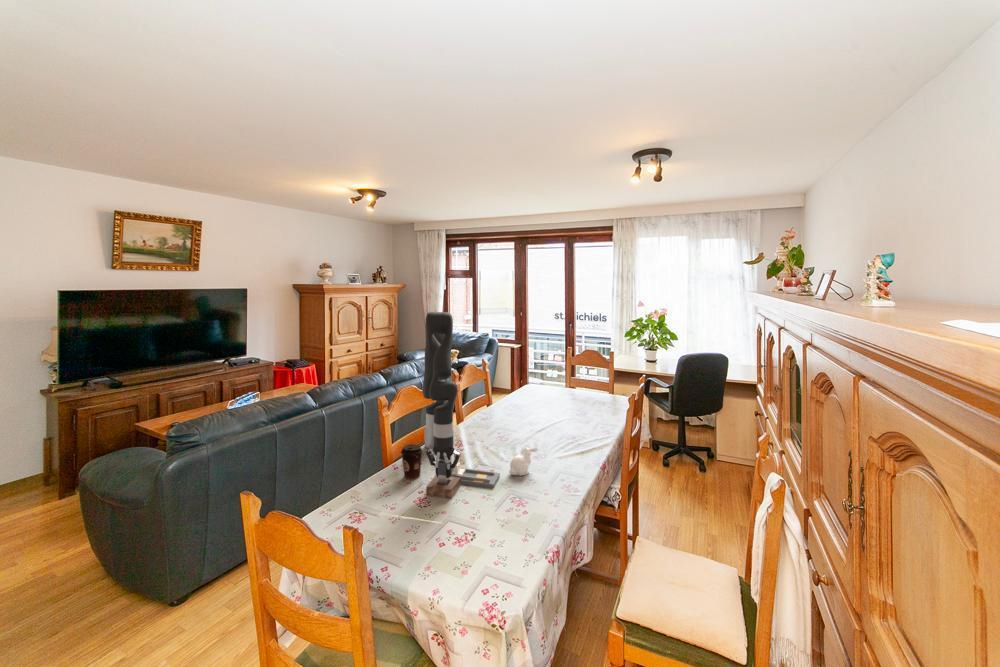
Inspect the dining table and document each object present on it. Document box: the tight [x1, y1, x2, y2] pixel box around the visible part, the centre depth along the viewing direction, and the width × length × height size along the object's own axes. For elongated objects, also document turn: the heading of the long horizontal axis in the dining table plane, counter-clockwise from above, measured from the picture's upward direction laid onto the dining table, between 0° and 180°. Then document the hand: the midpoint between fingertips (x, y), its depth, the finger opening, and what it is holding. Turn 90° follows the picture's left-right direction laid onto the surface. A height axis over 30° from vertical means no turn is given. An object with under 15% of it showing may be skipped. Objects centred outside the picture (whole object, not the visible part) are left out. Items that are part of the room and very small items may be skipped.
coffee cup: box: [400, 443, 424, 481], centre depth 176 cm, size 9×8×13 cm
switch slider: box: [452, 462, 466, 475], centre depth 176 cm, size 4×5×4 cm
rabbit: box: [508, 446, 538, 477], centre depth 181 cm, size 12×9×12 cm
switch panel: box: [451, 467, 501, 489], centre depth 175 cm, size 22×10×3 cm, turn 76°
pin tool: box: [438, 460, 449, 485], centre depth 165 cm, size 3×3×12 cm
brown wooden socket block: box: [425, 474, 461, 500], centre depth 165 cm, size 10×10×4 cm
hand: (443, 476), depth 165 cm, fingers closed on pin tool, 3 cm apart
